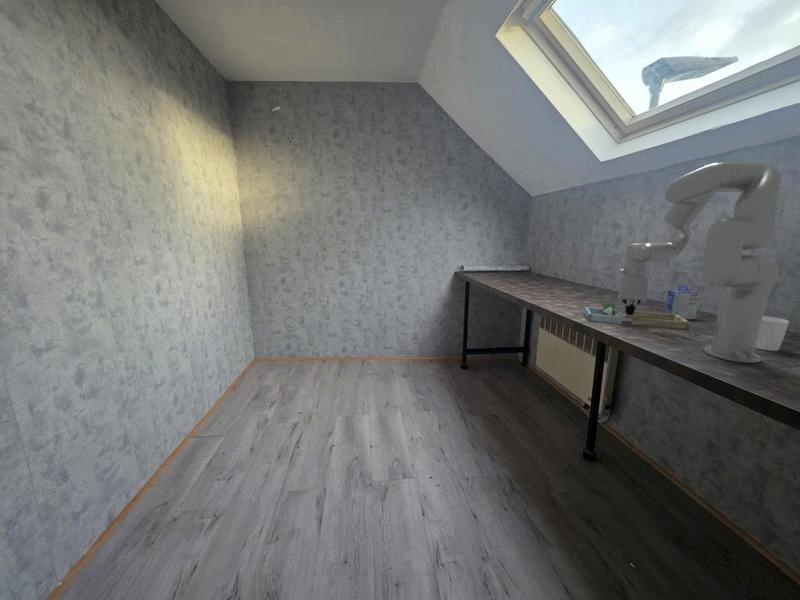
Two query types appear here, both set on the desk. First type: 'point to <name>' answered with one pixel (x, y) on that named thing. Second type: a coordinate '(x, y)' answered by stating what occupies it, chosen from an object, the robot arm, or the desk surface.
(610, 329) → the desk surface
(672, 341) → the desk surface
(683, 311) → the ink cartridge box
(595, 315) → the bay
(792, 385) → the desk surface
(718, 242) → the robot arm
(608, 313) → the geometric puzzle
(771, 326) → the white cup
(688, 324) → the wooden tray
